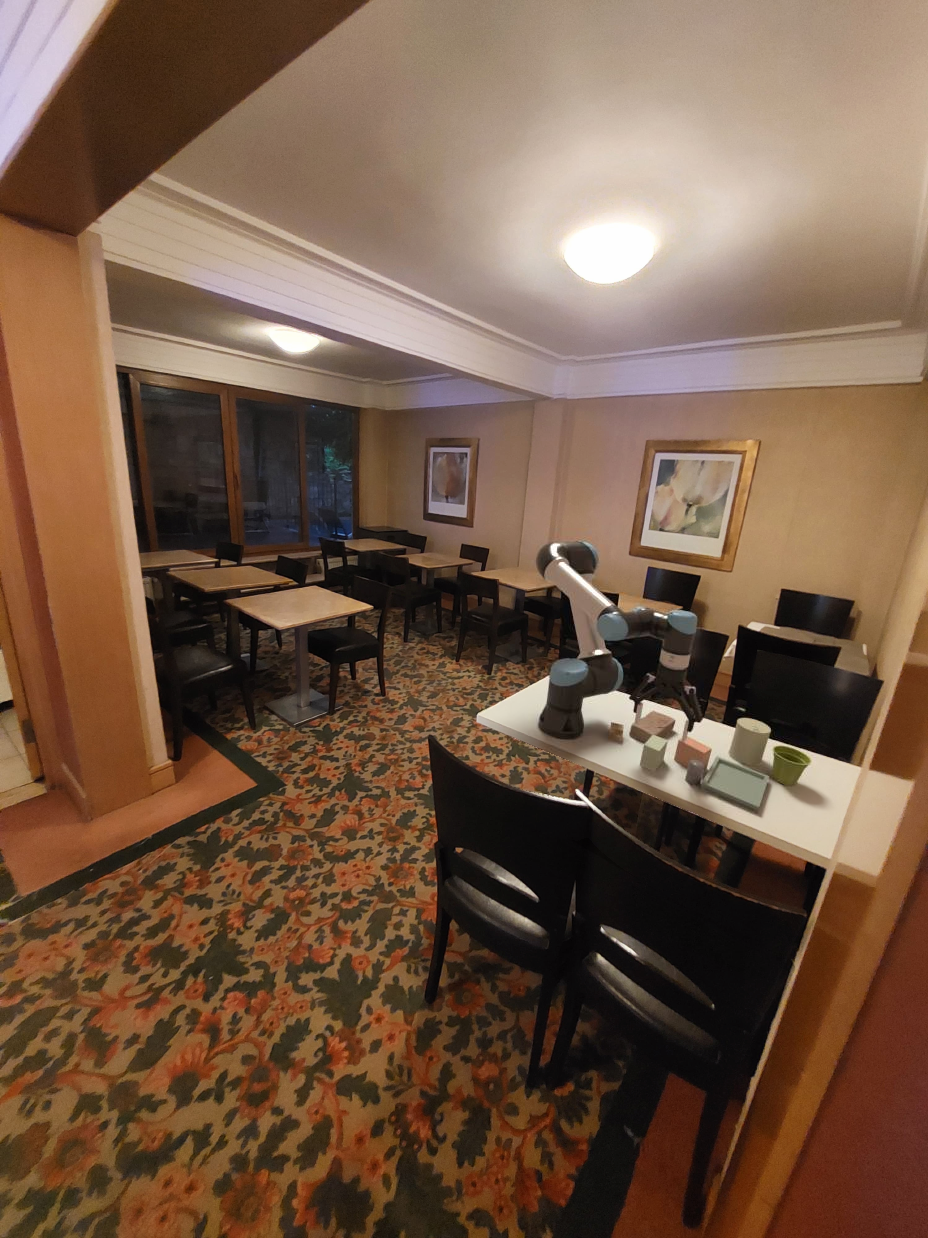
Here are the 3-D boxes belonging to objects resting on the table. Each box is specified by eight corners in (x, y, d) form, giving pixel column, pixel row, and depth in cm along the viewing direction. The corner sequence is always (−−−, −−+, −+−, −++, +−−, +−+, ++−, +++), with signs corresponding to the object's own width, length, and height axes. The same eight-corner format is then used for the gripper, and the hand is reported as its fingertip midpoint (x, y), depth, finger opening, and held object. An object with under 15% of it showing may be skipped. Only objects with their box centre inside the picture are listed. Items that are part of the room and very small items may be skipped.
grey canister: (683, 781, 133) (687, 763, 131) (687, 775, 136) (691, 758, 134) (698, 788, 130) (703, 770, 128) (701, 781, 133) (706, 763, 131)
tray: (700, 788, 130) (701, 782, 129) (715, 761, 143) (716, 756, 143) (757, 813, 122) (759, 807, 121) (767, 782, 135) (769, 776, 134)
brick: (651, 747, 150) (654, 734, 148) (627, 735, 155) (630, 723, 154) (673, 731, 160) (676, 719, 159) (651, 721, 166) (653, 709, 165)
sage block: (639, 765, 139) (643, 744, 137) (648, 754, 145) (652, 734, 143) (654, 771, 136) (659, 751, 134) (663, 760, 142) (667, 740, 140)
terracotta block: (698, 773, 137) (704, 753, 135) (673, 759, 143) (678, 739, 141) (706, 768, 140) (712, 748, 138) (681, 755, 146) (686, 735, 144)
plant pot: (788, 770, 141) (796, 746, 139) (810, 791, 132) (819, 765, 130) (758, 769, 141) (765, 744, 138) (778, 789, 132) (787, 763, 129)
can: (731, 761, 144) (740, 727, 141) (726, 746, 153) (735, 713, 149) (764, 769, 141) (775, 734, 138) (757, 753, 150) (767, 720, 146)
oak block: (608, 738, 152) (610, 728, 151) (609, 732, 156) (611, 722, 155) (621, 741, 151) (623, 730, 150) (621, 735, 155) (623, 725, 154)
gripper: (625, 656, 136) (614, 720, 142) (718, 682, 121) (701, 753, 127) (634, 650, 141) (623, 712, 147) (724, 674, 126) (708, 742, 132)
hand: (659, 731), depth 137 cm, fingers open, 13 cm apart
